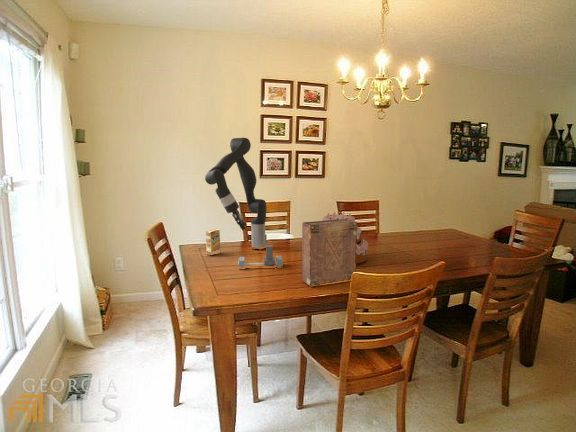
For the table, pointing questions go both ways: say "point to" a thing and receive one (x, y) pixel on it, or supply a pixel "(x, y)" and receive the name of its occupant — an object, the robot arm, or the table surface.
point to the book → (328, 251)
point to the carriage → (269, 256)
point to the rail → (242, 263)
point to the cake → (361, 243)
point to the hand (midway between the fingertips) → (243, 227)
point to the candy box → (213, 240)
